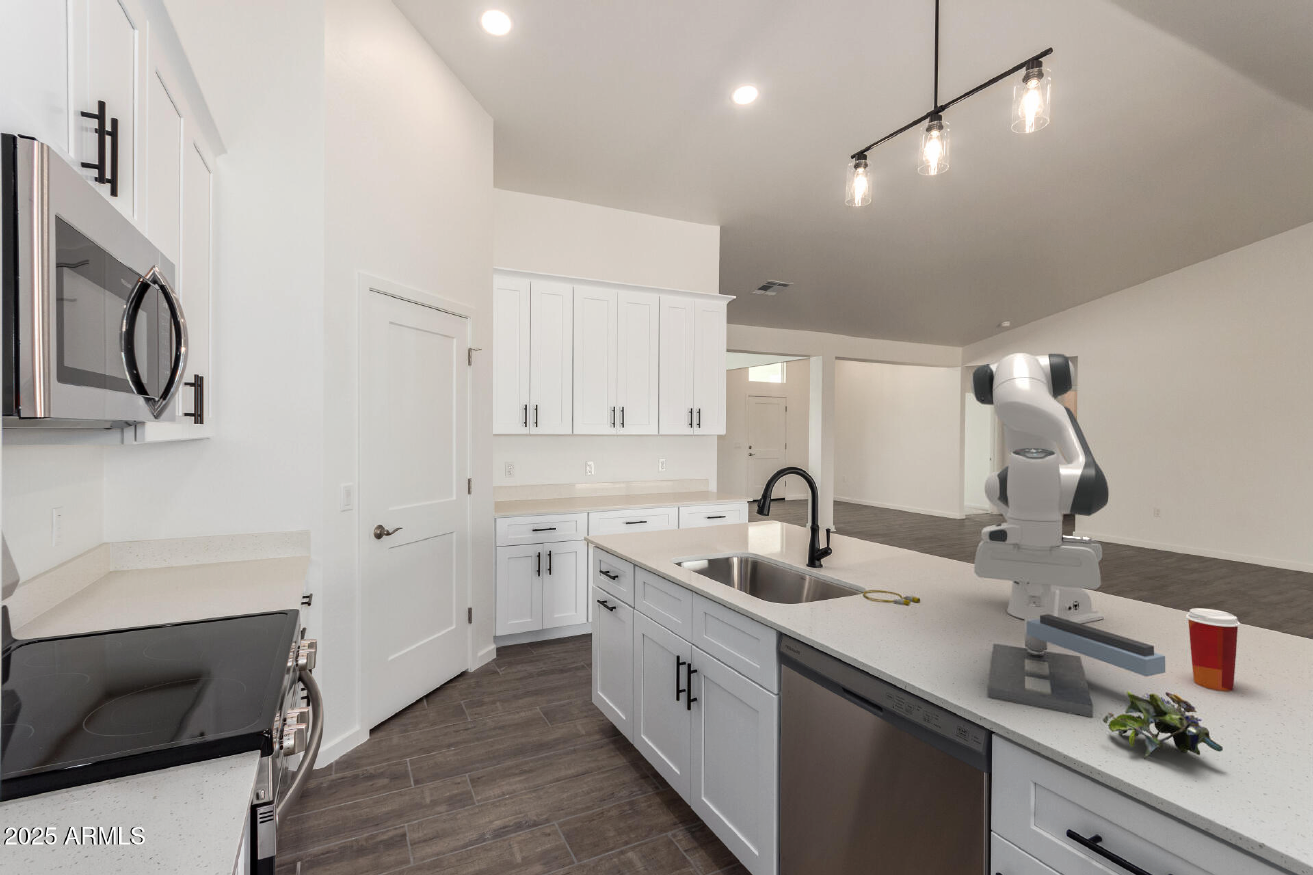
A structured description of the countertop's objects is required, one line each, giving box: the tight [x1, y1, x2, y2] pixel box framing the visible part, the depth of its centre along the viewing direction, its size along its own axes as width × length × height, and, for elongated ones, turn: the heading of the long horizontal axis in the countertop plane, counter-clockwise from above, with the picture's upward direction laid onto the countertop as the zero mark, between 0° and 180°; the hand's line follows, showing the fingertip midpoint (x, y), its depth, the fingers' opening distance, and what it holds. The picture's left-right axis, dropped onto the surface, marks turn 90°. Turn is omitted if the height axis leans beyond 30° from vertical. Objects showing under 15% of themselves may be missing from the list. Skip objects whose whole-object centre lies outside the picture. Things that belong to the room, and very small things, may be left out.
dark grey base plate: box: [987, 643, 1094, 718], centre depth 118 cm, size 26×16×3 cm, turn 148°
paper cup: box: [1185, 607, 1241, 692], centre depth 115 cm, size 8×8×14 cm
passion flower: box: [1102, 690, 1224, 760], centre depth 92 cm, size 11×11×12 cm
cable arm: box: [1024, 614, 1166, 677], centre depth 117 cm, size 25×5×8 cm, turn 19°
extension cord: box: [862, 589, 921, 606], centre depth 177 cm, size 12×16×2 cm
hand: (1034, 605), depth 112 cm, fingers closed
